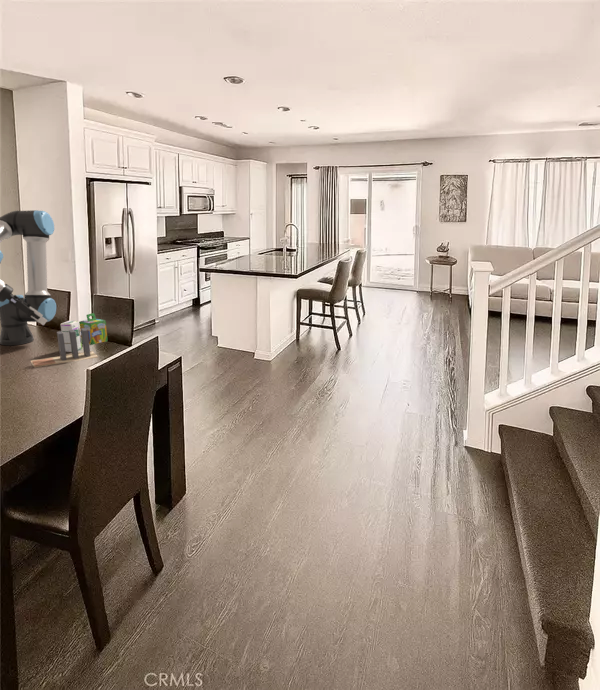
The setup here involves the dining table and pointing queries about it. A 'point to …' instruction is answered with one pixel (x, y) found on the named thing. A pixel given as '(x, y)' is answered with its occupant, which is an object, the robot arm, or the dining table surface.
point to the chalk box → (94, 329)
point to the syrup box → (65, 330)
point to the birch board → (58, 360)
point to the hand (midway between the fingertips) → (43, 320)
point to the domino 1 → (61, 345)
